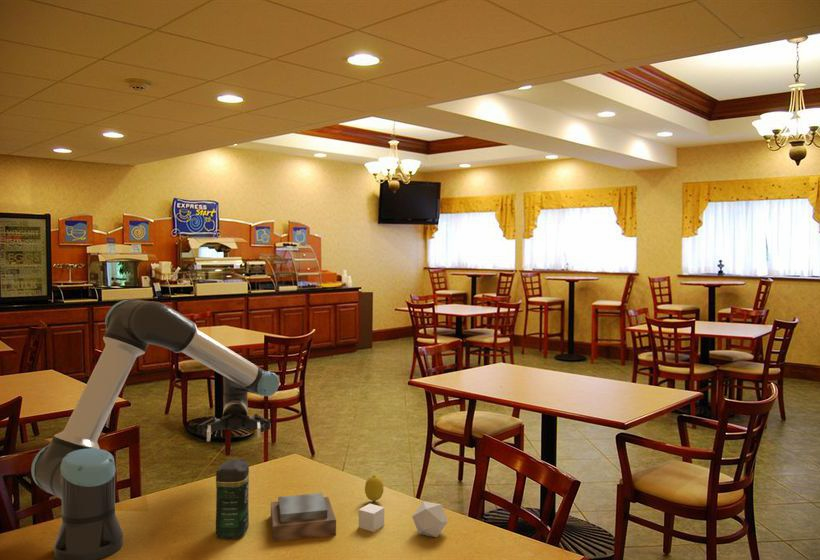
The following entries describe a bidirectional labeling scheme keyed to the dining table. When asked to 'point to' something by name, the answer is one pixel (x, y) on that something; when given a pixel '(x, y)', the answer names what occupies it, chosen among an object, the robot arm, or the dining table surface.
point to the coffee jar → (232, 499)
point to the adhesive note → (371, 517)
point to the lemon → (374, 488)
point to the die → (430, 519)
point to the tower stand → (302, 517)
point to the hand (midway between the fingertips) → (233, 434)
